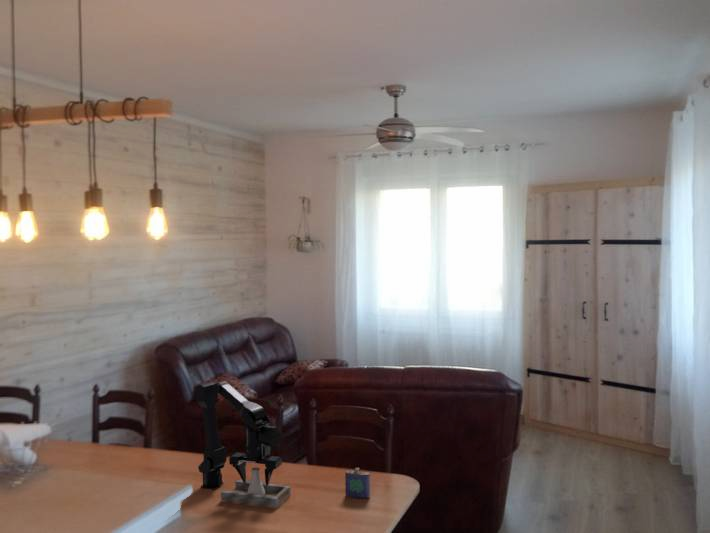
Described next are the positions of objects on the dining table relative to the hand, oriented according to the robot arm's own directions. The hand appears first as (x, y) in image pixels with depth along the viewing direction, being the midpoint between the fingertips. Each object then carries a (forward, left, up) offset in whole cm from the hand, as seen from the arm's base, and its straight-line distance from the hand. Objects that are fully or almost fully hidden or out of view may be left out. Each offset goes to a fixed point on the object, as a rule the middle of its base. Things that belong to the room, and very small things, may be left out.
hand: (255, 483), depth 231 cm
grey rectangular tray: (0, 0, -6) cm, 6 cm away
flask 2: (+35, +12, -6) cm, 37 cm away
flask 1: (0, 0, -5) cm, 5 cm away
